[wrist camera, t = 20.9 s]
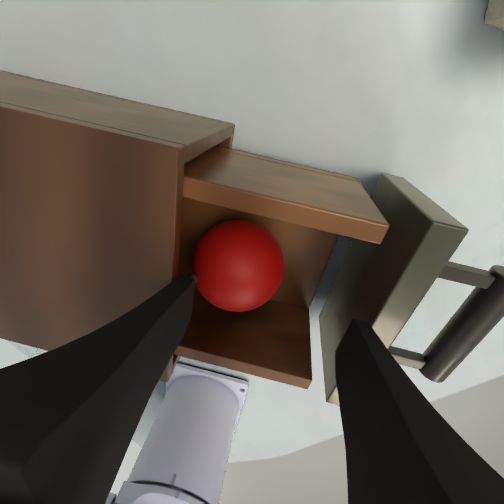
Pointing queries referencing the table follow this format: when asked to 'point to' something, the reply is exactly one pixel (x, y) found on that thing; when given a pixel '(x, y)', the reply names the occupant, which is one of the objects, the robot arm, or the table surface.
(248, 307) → the apple
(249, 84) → the table surface
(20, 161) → the cabinet
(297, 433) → the table surface
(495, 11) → the egg carton
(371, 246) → the drawer
